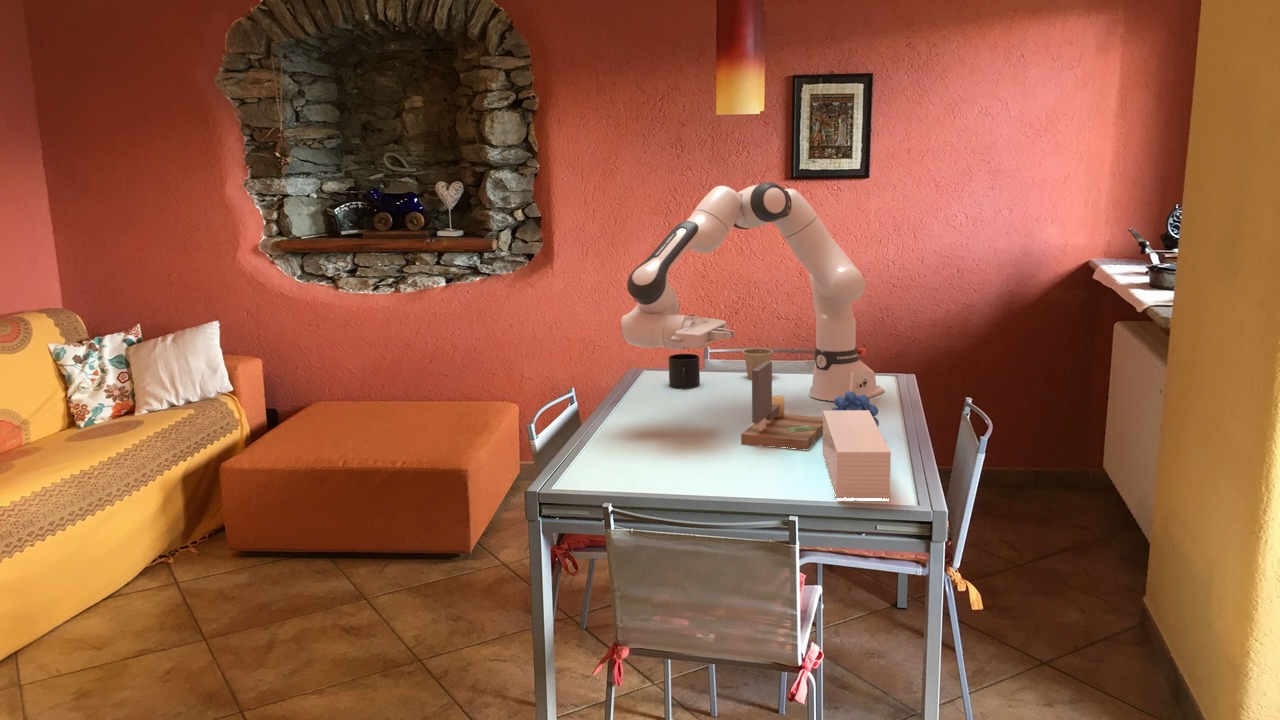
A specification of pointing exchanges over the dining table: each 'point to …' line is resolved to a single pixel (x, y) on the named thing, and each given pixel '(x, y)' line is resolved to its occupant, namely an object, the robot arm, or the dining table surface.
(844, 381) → the robot arm
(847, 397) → the grapes
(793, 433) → the wooden cutting board
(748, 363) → the flower pot
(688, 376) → the mug
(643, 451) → the dining table surface
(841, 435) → the stack of papers
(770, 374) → the paddle
